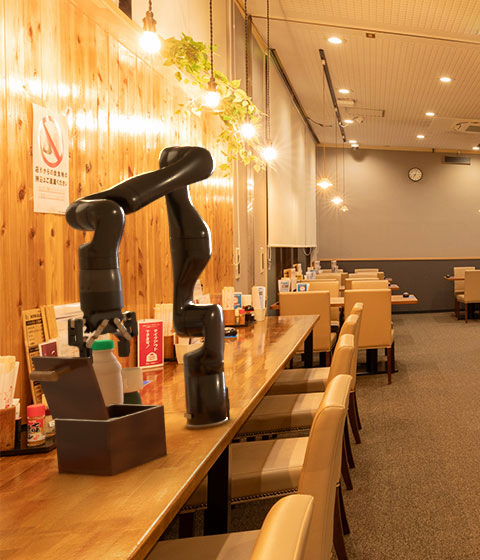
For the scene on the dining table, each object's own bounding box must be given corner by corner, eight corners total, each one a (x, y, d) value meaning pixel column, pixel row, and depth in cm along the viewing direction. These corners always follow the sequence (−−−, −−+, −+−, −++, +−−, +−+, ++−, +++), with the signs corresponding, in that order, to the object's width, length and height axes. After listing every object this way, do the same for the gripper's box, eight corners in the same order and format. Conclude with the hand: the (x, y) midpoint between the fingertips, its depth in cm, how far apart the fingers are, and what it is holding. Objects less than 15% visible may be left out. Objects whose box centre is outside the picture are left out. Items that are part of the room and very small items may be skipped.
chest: (117, 452, 154) (113, 403, 153) (166, 454, 152) (163, 405, 151) (58, 472, 140) (54, 419, 140) (112, 475, 138) (108, 421, 138)
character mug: (118, 410, 192) (115, 367, 191) (147, 407, 196) (145, 365, 195) (110, 419, 183) (107, 374, 182) (141, 415, 186) (138, 371, 185)
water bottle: (106, 440, 163) (99, 342, 161) (83, 439, 164) (76, 342, 163) (133, 432, 170) (126, 338, 168) (111, 430, 171) (104, 338, 170)
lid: (34, 356, 136) (7, 366, 131) (90, 357, 134) (64, 368, 129) (56, 416, 140) (30, 429, 135) (110, 418, 138) (86, 431, 133)
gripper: (83, 292, 137) (89, 367, 138) (144, 286, 151) (149, 354, 152) (53, 292, 138) (59, 366, 139) (116, 286, 152) (121, 354, 153)
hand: (106, 360), depth 145 cm, fingers open, 8 cm apart
